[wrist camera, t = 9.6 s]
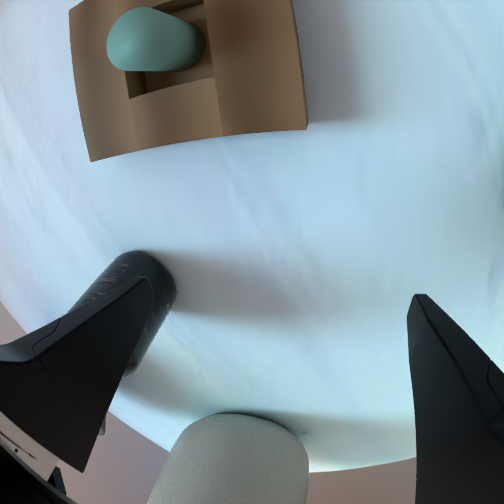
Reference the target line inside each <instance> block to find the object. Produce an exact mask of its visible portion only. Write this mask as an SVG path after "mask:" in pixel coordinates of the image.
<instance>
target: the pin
mask: <svg viewBox="0 0 504 504" xmlns="http://www.w3.org/2000/svg"><path fill="white" fill-rule="evenodd" d="M106 47H107V55H108V58H109V60H110V61H111V63H112V64H113V65H114V66H115V67H117V68H118V69H120V70H124V71H169V72H181V71H185V70H188V69H190V68H192V67H193V66H194V65H196V64H197V63H198V62H199V60H200V59H201V58H202V56H203V54H204V51H205V48H206V39H205V36H204V34H203V32H202V31H201V29H200V28H199V27H197V26H196V25H193V24H191V23H189V22H186V21H184V20H181V19H179V18H177V17H174V16H171V15H169V14H166V13H164V12H161V11H158V10H155V9H152V8H149V7H138V8H134V9H132V10H130V11H128V12H126V13H125V14H123V15H122V16H121V17H120V18H119V19H118V20H117V21H116V22H115V23H114V25H113V26H112V28H111V30H110V32H109V35H108V38H107V46H106Z"/></svg>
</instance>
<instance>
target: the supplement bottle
mask: <svg viewBox="0 0 504 504" xmlns="http://www.w3.org/2000/svg"><path fill="white" fill-rule="evenodd" d="M138 276H140V277H147V278H148V279H149V281H150V284H151V287H152V290H153V292H154V296H155V299H154V303H153V306H152V308H151V311H150V314H149V316H148V319H147V322H146V325H145V327H144V330H143V333H142V335H141V337H140V340H139V342H138V344H137V346H136V348H135V350H134V352H133V354H132V357H131V359H130V361H129V363H128V365H127V367H126V370H125V372H124V374H123V376H122V377H126V376H129V375H130V374H132V373H133V372H134V371H135V370H136V369H137V367H138V366H139V364H140V362H141V361H142V359H143V357H144V355H145V353H146V352H147V350H148V348H149V346H150V344H151V343H152V341H153V339H154V337H155V336H156V334H157V332H158V330H159V329H160V327H161V325H162V323H163V322H164V320H165V318H166V316H167V315H168V313H169V311H170V309H171V308H172V306H173V304H174V302H175V298H176V288H175V284H174V281H173V279H172V277H171V275H170V274H169V272H168V271H167V270H166V269H165V267H164V266H163V265H162V264H161V263H159V262H158V261H157V260H155V259H154V258H152V257H150V256H148V255H146V254H143V253H139V252H127V253H123V254H121V255H120V256H118V257H117V258H116V259H115V260H114V261H113V262H112V263H111V264H110V265H109V266H108V267H107V268H106V269H105V270H104V272H103V273H102V274H101V275H100V276H99V277H98V278H97V279H96V280H95V281H94V283H93V284H92V285H91V286H90V287H89V288H88V289H87V290H86V292H85V293H84V294H83V295H82V296H81V297H80V298H79V300H78V301H77V302H76V303H75V304H74V305H73V307H72V308H71V309H70V310H69V311H68V313H69V312H71V311H73V310H75V309H77V308H78V307H80V306H82V305H84V304H86V303H88V302H90V301H91V300H93V299H95V298H97V297H99V296H101V295H103V294H105V293H106V292H108V291H110V290H112V289H114V288H116V287H118V286H120V285H122V284H124V283H126V282H127V281H129V280H131V279H133V278H135V277H138Z"/></svg>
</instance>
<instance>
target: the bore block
mask: <svg viewBox="0 0 504 504" xmlns="http://www.w3.org/2000/svg"><path fill="white" fill-rule="evenodd" d="M138 7H149V8H152V9H155V10H158V11H161V12H164V13H166V14H169V15H171V16H174V17H177V18H179V19H181V20H184V21H186V22H189V23H191V24H193V25H196V26H197V27H199V28H200V29H201V31H202V32H203V34H204V36H205V39H206V48H205V51H204V54H203V56H202V58H201V59H200V60H199V62H198V63H197V64H196V65H194V66H193V67H192V68H190V69H188V70H185V71H181V72H169V71H124V70H120V69H118V68H117V67H115V66H114V65H113V64H112V63H111V61H110V60H109V58H108V55H107V47H106V46H107V38H108V35H109V32H110V30H111V28H112V26H113V25H114V23H115V22H116V21H117V20H118V19H119V18H120V17H121V16H122V15H123V14H125V13H126V12H128V11H130V10H132V9H134V8H138ZM69 28H70V43H71V54H72V64H73V72H74V80H75V87H76V93H77V99H78V105H79V111H80V116H81V121H82V126H83V131H84V136H85V140H86V145H87V149H88V153H89V157H90V161H91V162H94V161H97V160H101V159H105V158H109V157H113V156H117V155H121V154H126V153H130V152H135V151H139V150H144V149H149V148H154V147H159V146H164V145H169V144H175V143H181V142H187V141H193V140H200V139H207V138H214V137H222V136H230V135H239V134H249V133H260V132H272V131H288V130H306V129H307V126H308V117H307V107H306V97H305V88H304V80H303V71H302V63H301V56H300V49H299V42H298V35H297V28H296V22H295V16H294V10H293V5H292V0H84V1H82V2H81V3H79V4H78V5H76V6H75V7H73V8H72V9H70V10H69Z"/></svg>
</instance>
